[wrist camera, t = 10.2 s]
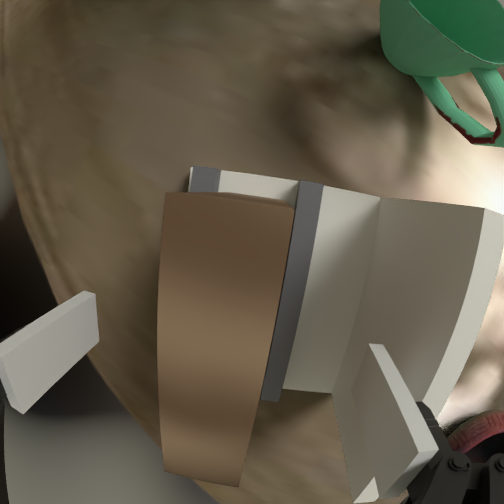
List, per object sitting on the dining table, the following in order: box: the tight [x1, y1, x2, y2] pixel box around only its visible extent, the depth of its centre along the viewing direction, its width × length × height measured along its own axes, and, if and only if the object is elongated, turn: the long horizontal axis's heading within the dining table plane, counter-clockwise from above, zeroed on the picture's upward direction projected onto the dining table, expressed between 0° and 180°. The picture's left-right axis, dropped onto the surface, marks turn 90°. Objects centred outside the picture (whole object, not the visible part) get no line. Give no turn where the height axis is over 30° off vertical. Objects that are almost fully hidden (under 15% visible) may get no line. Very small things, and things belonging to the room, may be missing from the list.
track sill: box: [188, 166, 504, 503], centre depth 16 cm, size 17×16×13 cm
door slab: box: [157, 192, 295, 487], centre depth 16 cm, size 14×4×12 cm, turn 172°
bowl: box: [446, 410, 504, 463], centre depth 21 cm, size 16×13×8 cm
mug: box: [380, 0, 504, 147], centre depth 13 cm, size 15×10×10 cm
